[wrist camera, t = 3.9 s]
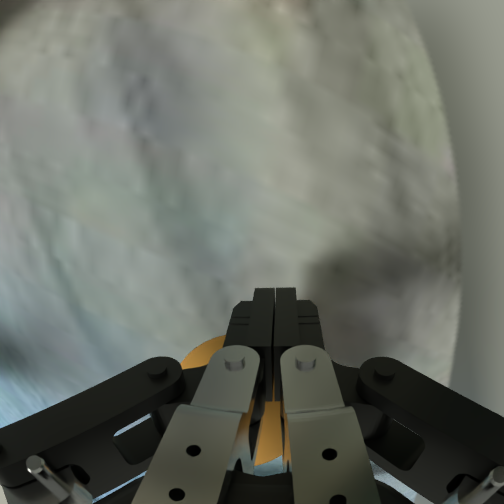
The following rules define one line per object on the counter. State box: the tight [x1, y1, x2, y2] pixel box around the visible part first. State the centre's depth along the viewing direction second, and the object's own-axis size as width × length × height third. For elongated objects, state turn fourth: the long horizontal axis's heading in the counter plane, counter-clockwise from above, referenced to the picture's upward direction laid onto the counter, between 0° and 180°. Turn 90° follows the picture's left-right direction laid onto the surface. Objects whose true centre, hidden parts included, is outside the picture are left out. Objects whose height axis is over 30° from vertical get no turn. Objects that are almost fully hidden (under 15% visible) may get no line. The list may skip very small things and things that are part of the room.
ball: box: [180, 335, 282, 466], centre depth 12 cm, size 6×6×6 cm
